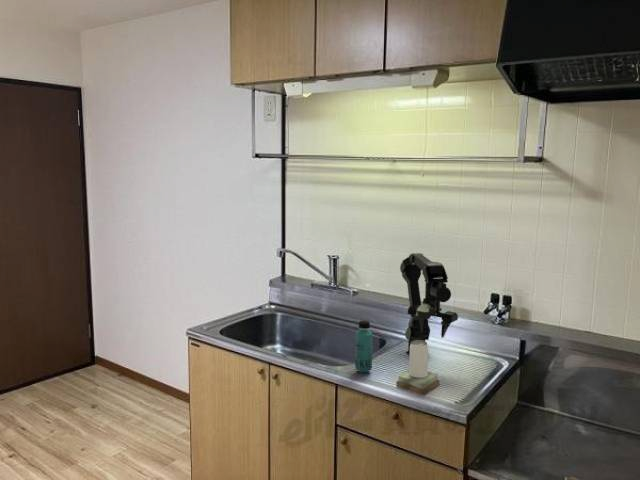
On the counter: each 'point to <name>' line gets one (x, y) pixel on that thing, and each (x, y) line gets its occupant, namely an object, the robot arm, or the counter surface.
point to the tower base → (418, 390)
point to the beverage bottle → (363, 347)
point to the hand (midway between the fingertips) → (431, 335)
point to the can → (418, 359)
